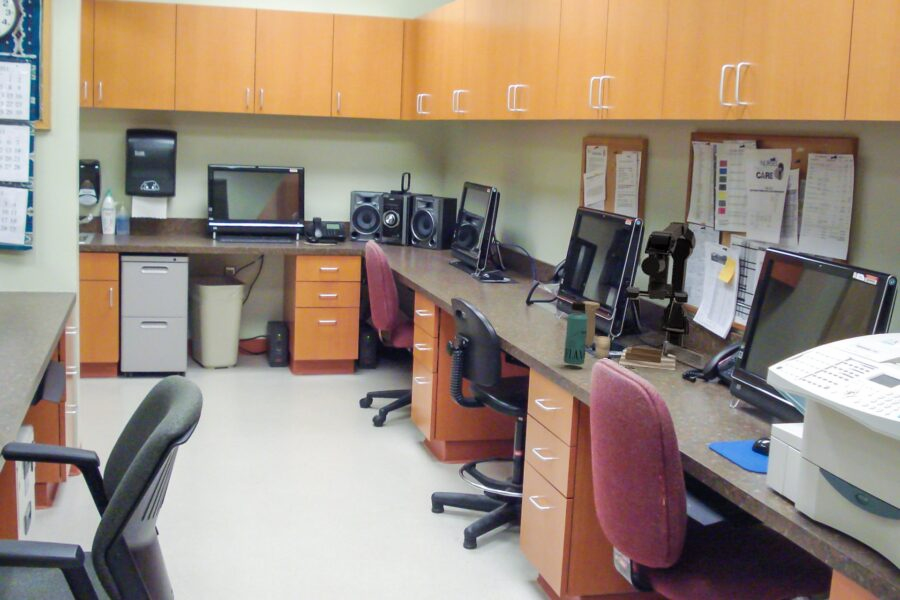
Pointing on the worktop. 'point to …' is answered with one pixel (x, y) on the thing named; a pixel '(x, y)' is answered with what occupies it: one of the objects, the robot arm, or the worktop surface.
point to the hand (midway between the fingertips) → (654, 322)
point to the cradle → (647, 358)
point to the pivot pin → (602, 347)
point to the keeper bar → (683, 353)
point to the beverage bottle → (576, 336)
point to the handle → (590, 320)
